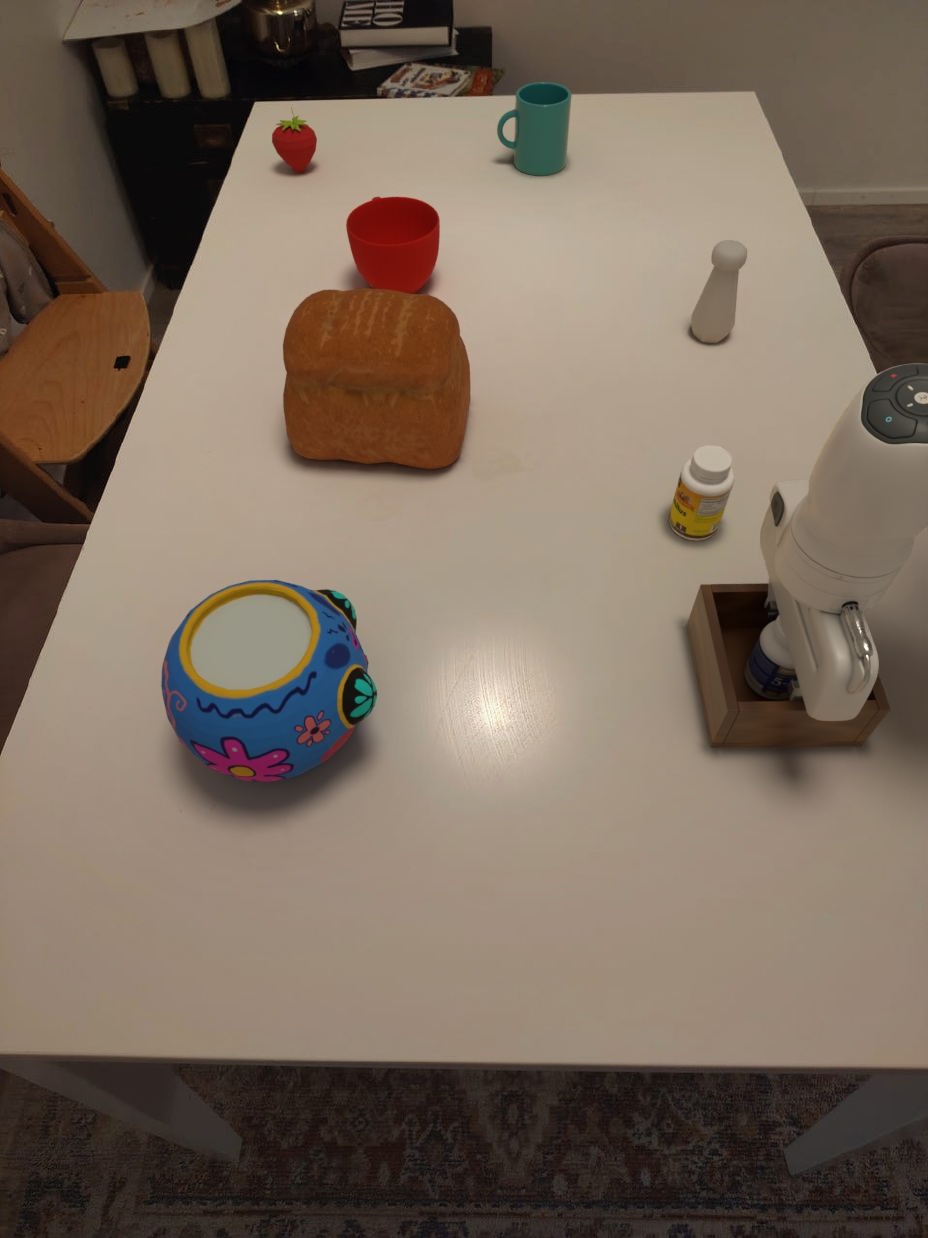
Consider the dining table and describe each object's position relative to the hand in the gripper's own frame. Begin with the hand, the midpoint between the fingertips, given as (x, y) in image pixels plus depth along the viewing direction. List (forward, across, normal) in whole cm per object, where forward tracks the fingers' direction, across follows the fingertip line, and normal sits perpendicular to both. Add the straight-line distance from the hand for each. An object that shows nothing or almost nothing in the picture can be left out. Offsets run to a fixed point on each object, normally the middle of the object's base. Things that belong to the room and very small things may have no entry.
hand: (785, 653), depth 77 cm
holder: (+5, 0, 0) cm, 5 cm away
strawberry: (+6, +104, +58) cm, 119 cm away
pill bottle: (+4, 0, 0) cm, 4 cm away
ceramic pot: (+5, -4, +47) cm, 47 cm away
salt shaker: (+6, +56, -4) cm, 56 cm away
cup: (+6, +105, +18) cm, 107 cm away
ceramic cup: (+5, +71, +40) cm, 82 cm away
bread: (+5, +38, +40) cm, 55 cm away
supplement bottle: (+5, +21, +4) cm, 22 cm away
